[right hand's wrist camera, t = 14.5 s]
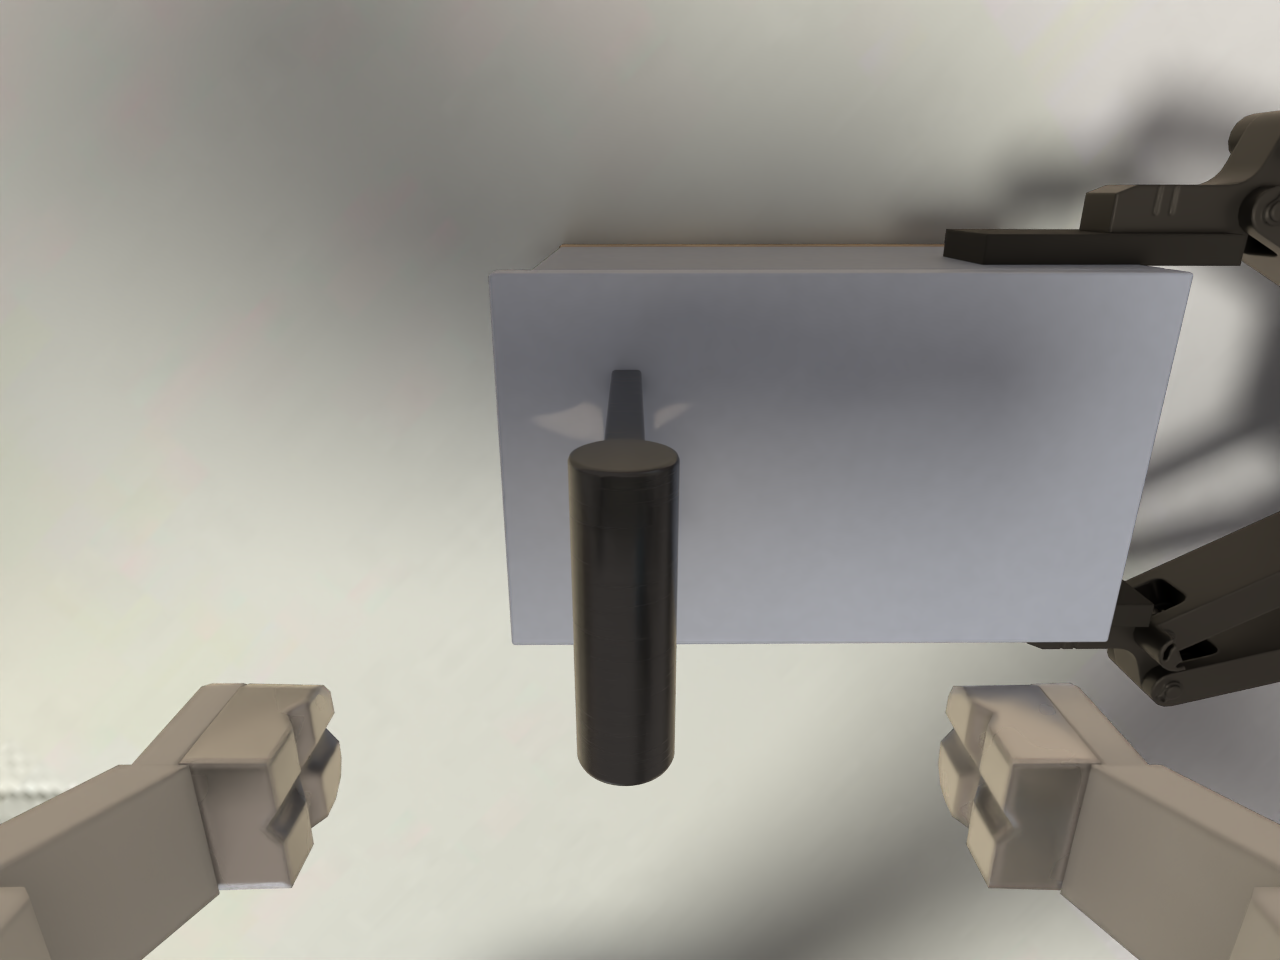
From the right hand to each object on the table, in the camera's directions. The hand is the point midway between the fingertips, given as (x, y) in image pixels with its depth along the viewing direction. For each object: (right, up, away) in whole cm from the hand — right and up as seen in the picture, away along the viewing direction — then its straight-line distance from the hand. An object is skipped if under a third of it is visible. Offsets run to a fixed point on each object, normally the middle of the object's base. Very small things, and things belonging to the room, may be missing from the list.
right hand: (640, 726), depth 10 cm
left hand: (+9, +5, +12) cm, 16 cm away
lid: (+5, +4, +10) cm, 12 cm away
